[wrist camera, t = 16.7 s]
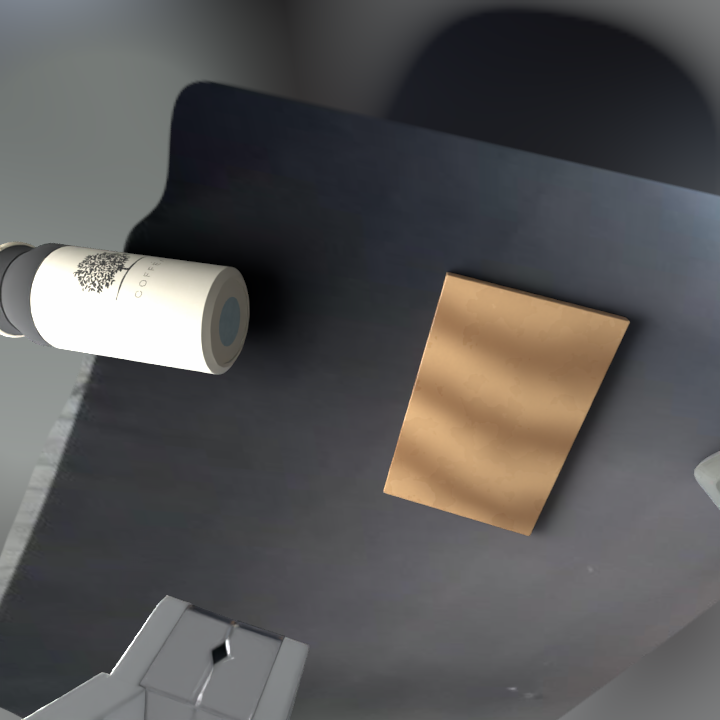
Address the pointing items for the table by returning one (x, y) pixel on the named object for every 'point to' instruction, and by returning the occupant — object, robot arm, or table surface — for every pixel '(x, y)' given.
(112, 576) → the table surface
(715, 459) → the digital clock
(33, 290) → the travel mug
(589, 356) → the wooden board
